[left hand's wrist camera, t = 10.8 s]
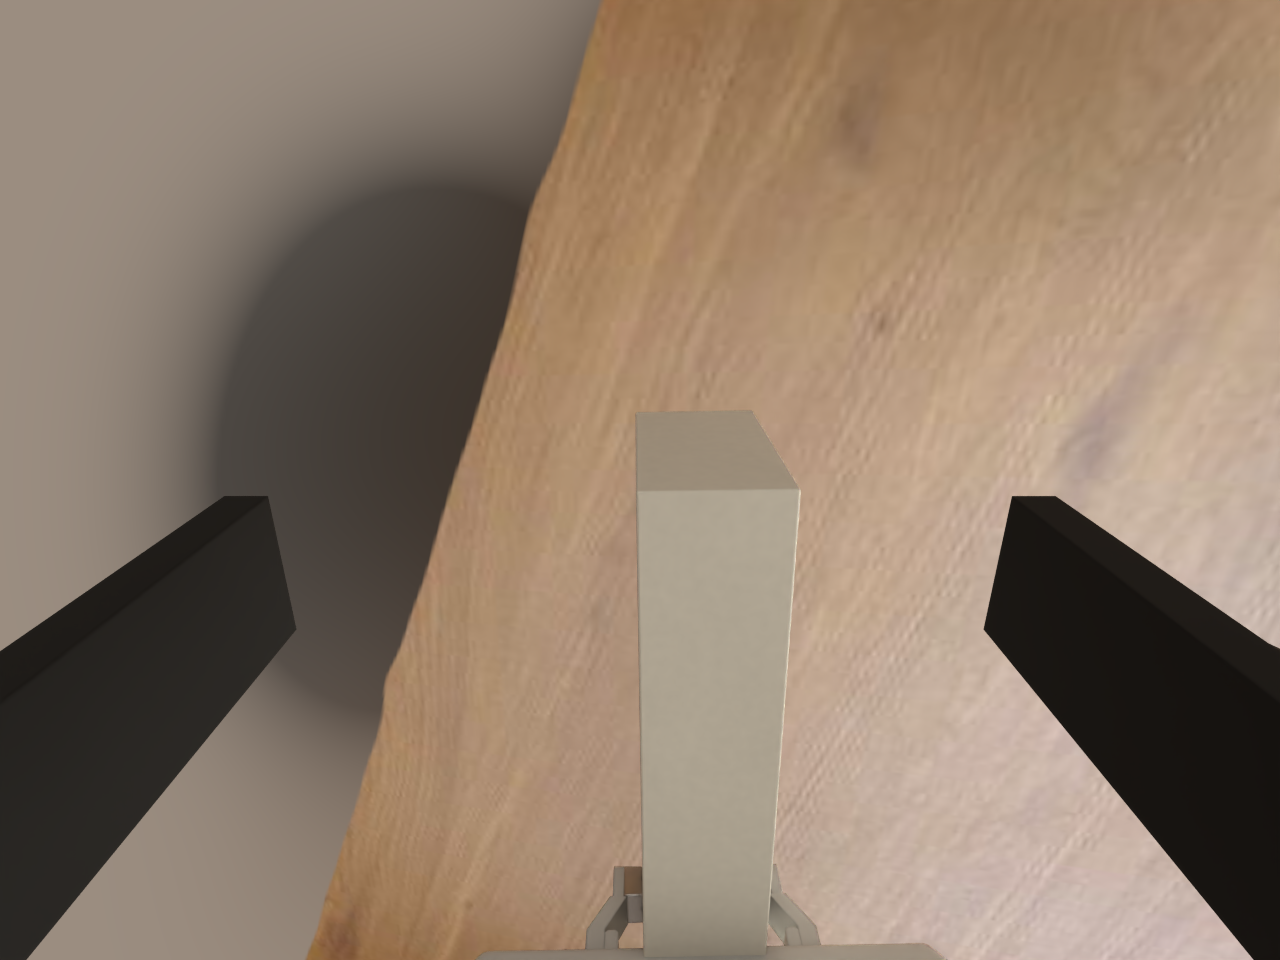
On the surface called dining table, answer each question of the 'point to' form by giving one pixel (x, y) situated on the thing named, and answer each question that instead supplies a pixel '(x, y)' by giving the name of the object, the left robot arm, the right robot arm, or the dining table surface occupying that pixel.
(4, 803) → the left robot arm
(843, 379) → the dining table surface
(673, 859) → the bar
